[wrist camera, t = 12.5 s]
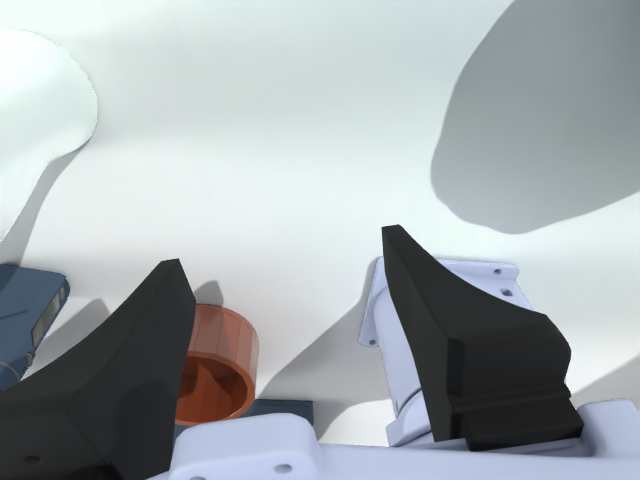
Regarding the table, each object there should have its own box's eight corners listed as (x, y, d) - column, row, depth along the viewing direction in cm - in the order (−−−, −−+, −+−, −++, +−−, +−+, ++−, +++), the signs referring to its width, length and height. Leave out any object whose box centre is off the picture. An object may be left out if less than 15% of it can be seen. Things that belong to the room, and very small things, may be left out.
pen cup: (261, 306, 31) (257, 353, 27) (256, 379, 35) (252, 428, 31) (146, 300, 30) (127, 348, 26) (156, 376, 34) (140, 426, 30)
